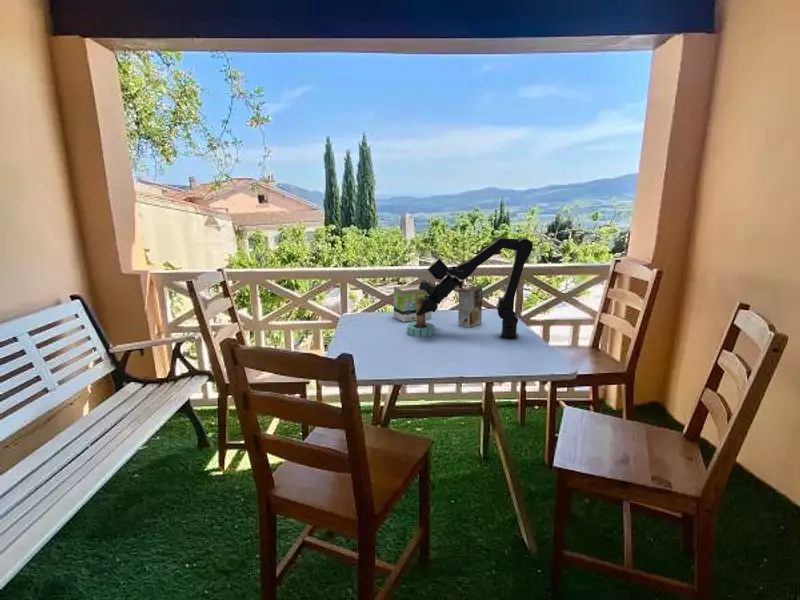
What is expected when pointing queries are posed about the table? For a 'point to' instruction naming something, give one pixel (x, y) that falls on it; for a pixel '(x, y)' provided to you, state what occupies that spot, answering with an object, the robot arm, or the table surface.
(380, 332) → the table surface
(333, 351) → the table surface
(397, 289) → the tea box
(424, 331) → the teal bead
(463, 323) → the coffee box
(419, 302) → the walnut peg
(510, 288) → the robot arm
